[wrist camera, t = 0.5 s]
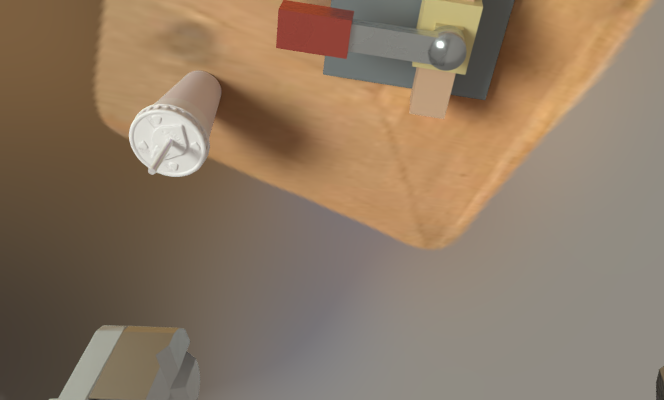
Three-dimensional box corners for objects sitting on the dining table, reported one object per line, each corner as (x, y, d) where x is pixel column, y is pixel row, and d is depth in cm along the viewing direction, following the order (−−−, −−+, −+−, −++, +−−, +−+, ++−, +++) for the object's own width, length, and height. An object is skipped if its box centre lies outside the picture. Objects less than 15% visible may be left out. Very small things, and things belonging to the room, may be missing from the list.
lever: (469, 26, 44) (471, 39, 43) (460, 63, 46) (461, 77, 44) (284, -3, 45) (278, 9, 43) (281, 35, 46) (276, 47, 45)
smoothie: (249, 87, 58) (206, 174, 47) (212, 131, 61) (164, 223, 50) (190, 42, 56) (130, 122, 45) (155, 91, 59) (91, 177, 48)
